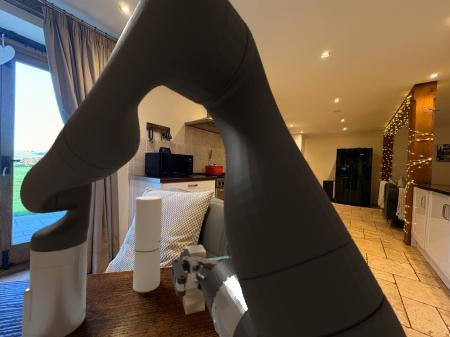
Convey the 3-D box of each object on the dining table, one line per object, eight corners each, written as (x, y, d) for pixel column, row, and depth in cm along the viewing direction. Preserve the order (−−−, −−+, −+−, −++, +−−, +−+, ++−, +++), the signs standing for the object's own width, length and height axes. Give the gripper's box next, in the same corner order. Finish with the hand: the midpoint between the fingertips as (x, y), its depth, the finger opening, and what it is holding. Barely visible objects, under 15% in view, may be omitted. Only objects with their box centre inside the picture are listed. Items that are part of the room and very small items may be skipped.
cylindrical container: (163, 278, 60) (165, 196, 60) (154, 292, 53) (156, 199, 53) (140, 277, 60) (142, 195, 60) (128, 291, 53) (130, 199, 53)
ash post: (185, 314, 45) (187, 253, 45) (182, 302, 50) (184, 246, 50) (204, 310, 47) (206, 251, 47) (200, 298, 51) (201, 244, 51)
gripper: (295, 263, 25) (241, 228, 40) (182, 284, 20) (169, 235, 35) (294, 322, 25) (240, 265, 40) (180, 358, 20) (168, 277, 35)
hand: (207, 251), depth 38 cm, fingers open, 8 cm apart
